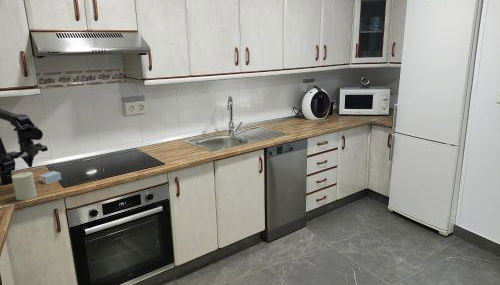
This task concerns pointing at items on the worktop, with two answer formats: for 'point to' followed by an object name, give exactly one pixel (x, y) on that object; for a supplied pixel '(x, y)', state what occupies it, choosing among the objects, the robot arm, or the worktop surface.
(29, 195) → the can
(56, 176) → the light blue box
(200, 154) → the worktop surface
